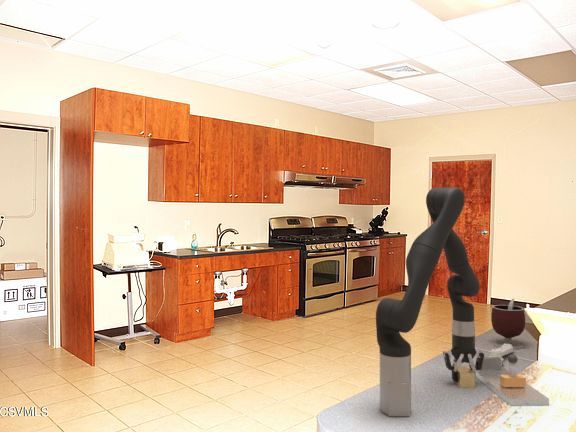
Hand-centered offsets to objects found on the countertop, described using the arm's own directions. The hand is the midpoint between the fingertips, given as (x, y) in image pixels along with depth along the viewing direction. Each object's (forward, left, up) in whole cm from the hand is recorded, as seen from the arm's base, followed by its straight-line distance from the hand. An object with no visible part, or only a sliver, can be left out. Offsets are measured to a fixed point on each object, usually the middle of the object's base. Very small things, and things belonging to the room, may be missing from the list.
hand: (463, 381), depth 162 cm
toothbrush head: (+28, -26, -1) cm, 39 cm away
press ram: (-9, -13, +2) cm, 16 cm away
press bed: (-4, -13, -1) cm, 14 cm away
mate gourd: (+48, -39, -1) cm, 62 cm away
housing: (0, 0, -1) cm, 1 cm away
